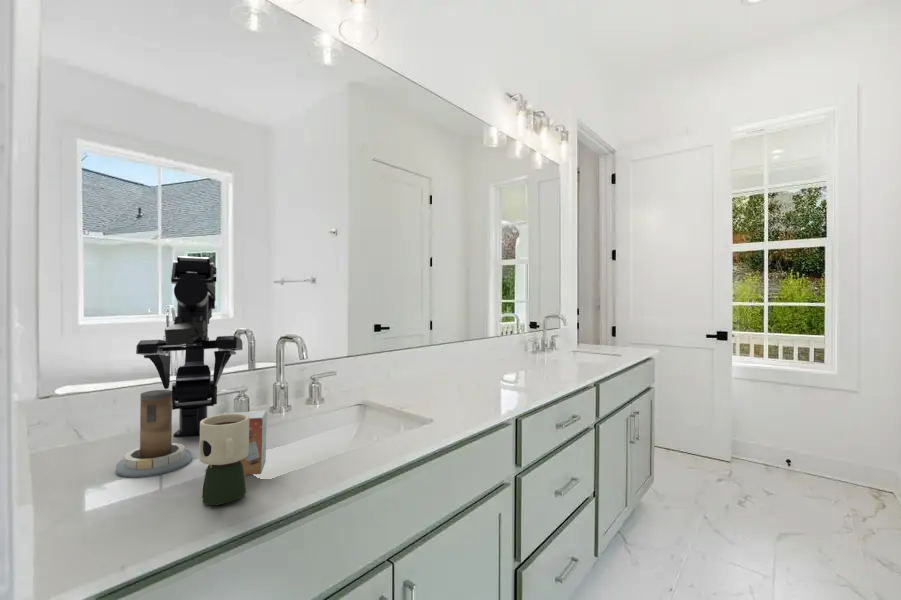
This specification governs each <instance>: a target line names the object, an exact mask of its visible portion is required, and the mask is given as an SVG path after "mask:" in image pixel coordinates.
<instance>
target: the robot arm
mask: <svg viewBox="0 0 901 600" xmlns="http://www.w3.org/2000/svg"><path fill="white" fill-rule="evenodd" d="M170 279H171V280H170V282H171V284H172V285H174V284H175V286H174V288H173V294H174V296H175V299H176V302H177V310H176V311H177V312H176V313H177V314H176V316H174V320H173V324H171V325H169V326H167V327H165V328H164V335H165V336H164V337H165V340H162V339H143V340H141V339H140V341H139V342H138V343H137V345H136V349H135V350H136V352H135V354H136V355H141V356H143V358H144V359H149V360H150V361H151V362H152V364H153V365H154V367H155V369H156V371H157V373H158V375H159V378H160V382H161V385H162V386H163V388H164V389H163V390H169V388H170V382H171V381H170V380H171V355H166V354H168V352H176V351H177V352H178V351H185V355H184V357H185V359H184V364H183V366H182V365H181V366H179V367H178V369H177V371H176V373H175V374H176V375H175V382H172V385H171V391H172V411H173V410H174V411H175V410H179V416H178V417H179V421H178V422H179V425H178V426H179V428H178V429H177V430H176V431H175V432H174V433H173V435H172V436H173V437H184V436H200V421H201V420H203V419H205V418H208V407H214V405H217V404H218V383H219V381H220V378H221V376H222V374H223V372H224V370H225V367H226V366H227V363H228V362H229V360H230V358H231V356H232V355H236V354H237V352H236V351H243V340H242V338H241V337H238V336H236V335H227V336H226V335H224V336H223V335H220V336H216V339H212V340H211V339H210V338H209V337H208V334H209V333H208V331H209V330H208V328H209V324H210V319H211V318H212V317H213V316H212V315H213V310H215V309H216V307H215V306H216V287H215V286H214V283H216V282H217V267H216V266H215V263H214V262H211V258H210V257H207V256H206V257H204V256H201V257H199V256H183V255H178V256H177V257H176V260H173V262H172V268H171V277H170ZM212 349H213V350H214V349H215V351H214V352H213V354H214V366H213V375H212V377H213V378H212V380H211V374H212V373H211V370H210V367H209V365H208V364H205V350H212ZM216 349H217V350H216Z"/></svg>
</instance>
